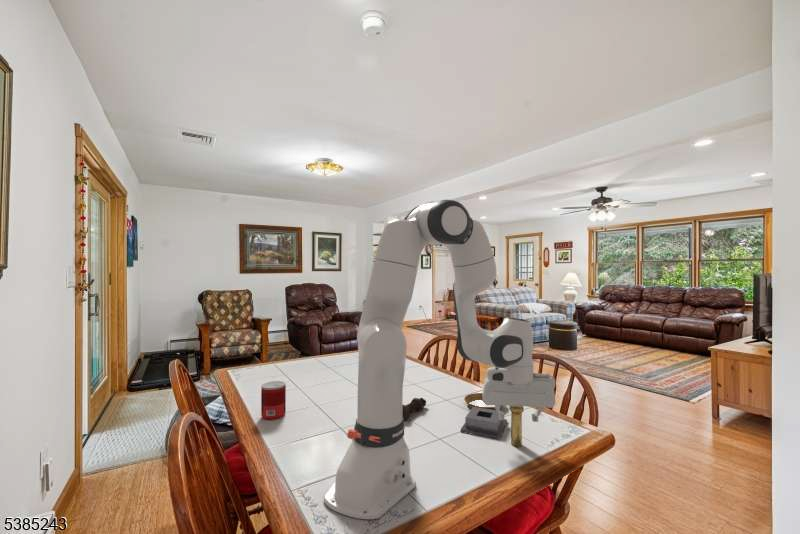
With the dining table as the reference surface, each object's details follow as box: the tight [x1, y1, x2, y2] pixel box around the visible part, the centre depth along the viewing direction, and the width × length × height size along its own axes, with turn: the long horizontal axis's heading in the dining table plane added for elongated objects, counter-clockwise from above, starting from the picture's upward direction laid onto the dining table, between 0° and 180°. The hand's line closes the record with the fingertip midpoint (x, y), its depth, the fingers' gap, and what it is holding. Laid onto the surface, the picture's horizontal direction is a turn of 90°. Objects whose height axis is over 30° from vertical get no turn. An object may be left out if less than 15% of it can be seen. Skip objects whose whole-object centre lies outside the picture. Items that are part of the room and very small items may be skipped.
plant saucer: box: [463, 392, 504, 410], centre depth 137 cm, size 15×15×3 cm
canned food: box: [260, 380, 287, 421], centre depth 127 cm, size 8×8×11 cm
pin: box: [508, 406, 525, 448], centre depth 107 cm, size 4×4×11 cm
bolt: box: [402, 397, 427, 422], centre depth 130 cm, size 6×5×15 cm
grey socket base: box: [460, 407, 508, 441], centre depth 119 cm, size 14×12×4 cm
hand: (518, 420), depth 107 cm, fingers open, 8 cm apart
